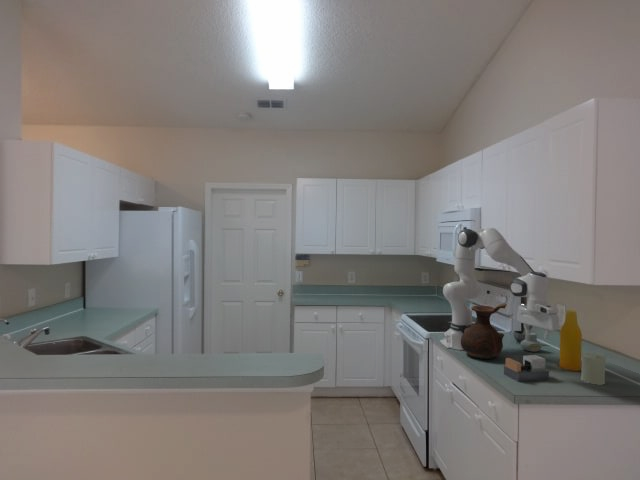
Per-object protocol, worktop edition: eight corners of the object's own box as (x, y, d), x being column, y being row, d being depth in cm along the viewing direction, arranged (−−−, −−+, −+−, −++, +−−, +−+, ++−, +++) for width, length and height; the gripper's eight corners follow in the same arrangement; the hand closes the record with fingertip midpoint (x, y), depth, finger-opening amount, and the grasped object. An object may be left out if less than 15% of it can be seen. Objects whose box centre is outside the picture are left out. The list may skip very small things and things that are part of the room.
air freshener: (524, 352, 227) (525, 335, 227) (517, 348, 236) (518, 331, 235) (544, 352, 227) (544, 335, 227) (536, 348, 235) (536, 331, 235)
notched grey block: (532, 370, 184) (532, 359, 184) (522, 366, 190) (523, 355, 190) (545, 369, 186) (545, 358, 186) (535, 365, 192) (535, 355, 192)
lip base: (533, 372, 194) (533, 355, 194) (548, 379, 184) (549, 362, 184) (503, 374, 190) (504, 357, 190) (518, 381, 181) (518, 364, 181)
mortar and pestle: (517, 345, 242) (518, 325, 241) (510, 341, 251) (510, 322, 251) (536, 345, 242) (536, 326, 242) (527, 341, 251) (528, 322, 251)
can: (594, 385, 177) (595, 358, 177) (575, 378, 186) (576, 352, 186) (610, 383, 180) (610, 357, 180) (591, 376, 189) (591, 351, 189)
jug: (475, 363, 207) (476, 305, 206) (453, 350, 228) (454, 298, 227) (512, 361, 211) (513, 304, 210) (487, 349, 232) (488, 297, 231)
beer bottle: (576, 372, 194) (577, 313, 194) (555, 367, 201) (557, 310, 201) (584, 369, 199) (585, 311, 199) (564, 364, 207) (565, 308, 207)
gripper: (514, 303, 196) (513, 331, 196) (552, 310, 177) (551, 341, 177) (523, 302, 199) (523, 330, 199) (562, 310, 180) (561, 340, 180)
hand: (536, 335), depth 188 cm, fingers open, 8 cm apart
